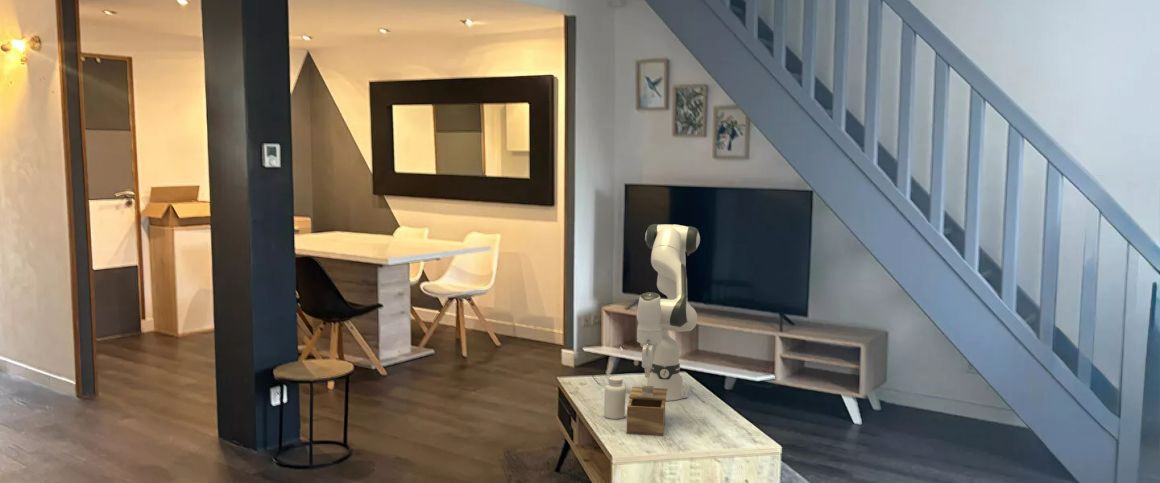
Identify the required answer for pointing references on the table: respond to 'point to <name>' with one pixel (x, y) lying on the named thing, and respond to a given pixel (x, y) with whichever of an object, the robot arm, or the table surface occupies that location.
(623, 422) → the table surface
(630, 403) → the carton
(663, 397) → the lid
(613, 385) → the pill bottle
